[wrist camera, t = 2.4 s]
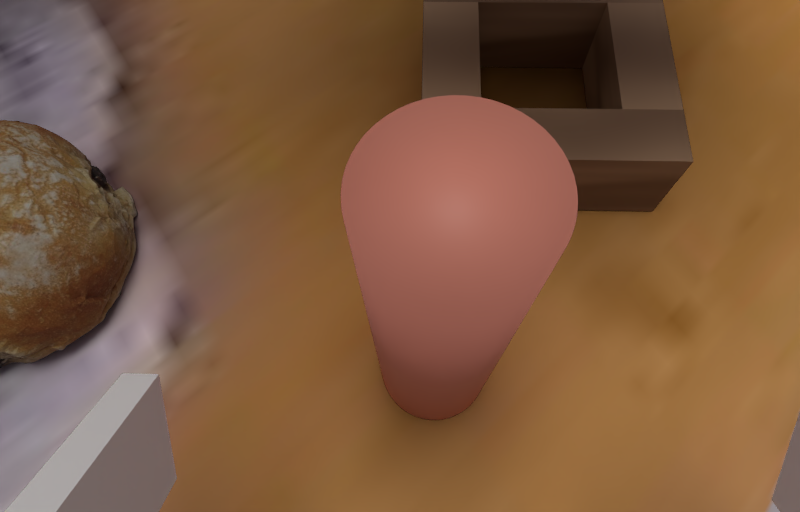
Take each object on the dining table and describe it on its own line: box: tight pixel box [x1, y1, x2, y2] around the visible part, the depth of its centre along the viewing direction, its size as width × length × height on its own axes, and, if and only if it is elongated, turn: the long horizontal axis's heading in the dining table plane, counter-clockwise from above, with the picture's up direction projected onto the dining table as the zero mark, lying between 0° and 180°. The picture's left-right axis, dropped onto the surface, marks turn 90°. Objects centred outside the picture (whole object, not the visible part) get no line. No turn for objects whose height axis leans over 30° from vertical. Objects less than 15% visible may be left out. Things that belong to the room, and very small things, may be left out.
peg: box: [341, 95, 578, 420], centre depth 16 cm, size 4×4×14 cm
